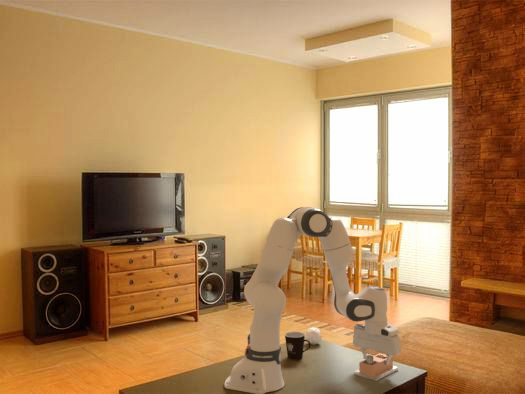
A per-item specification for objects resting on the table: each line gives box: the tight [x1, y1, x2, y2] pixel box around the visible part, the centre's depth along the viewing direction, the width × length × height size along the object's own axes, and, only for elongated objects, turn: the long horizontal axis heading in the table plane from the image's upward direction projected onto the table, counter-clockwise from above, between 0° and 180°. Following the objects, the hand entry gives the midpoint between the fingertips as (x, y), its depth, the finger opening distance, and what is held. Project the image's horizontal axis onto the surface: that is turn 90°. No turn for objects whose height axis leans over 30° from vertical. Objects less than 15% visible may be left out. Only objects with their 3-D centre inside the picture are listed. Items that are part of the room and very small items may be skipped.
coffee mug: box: [284, 331, 311, 361], centre depth 230 cm, size 12×9×10 cm
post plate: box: [353, 353, 399, 382], centre depth 212 cm, size 16×10×8 cm, turn 136°
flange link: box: [358, 352, 394, 376], centre depth 212 cm, size 15×6×4 cm, turn 136°
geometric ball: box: [305, 327, 323, 346], centre depth 250 cm, size 8×8×8 cm
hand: (376, 361), depth 212 cm, fingers open, 8 cm apart
